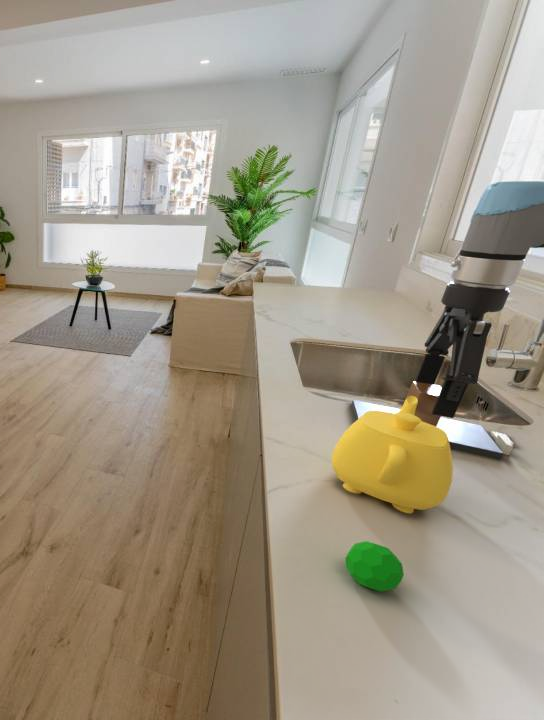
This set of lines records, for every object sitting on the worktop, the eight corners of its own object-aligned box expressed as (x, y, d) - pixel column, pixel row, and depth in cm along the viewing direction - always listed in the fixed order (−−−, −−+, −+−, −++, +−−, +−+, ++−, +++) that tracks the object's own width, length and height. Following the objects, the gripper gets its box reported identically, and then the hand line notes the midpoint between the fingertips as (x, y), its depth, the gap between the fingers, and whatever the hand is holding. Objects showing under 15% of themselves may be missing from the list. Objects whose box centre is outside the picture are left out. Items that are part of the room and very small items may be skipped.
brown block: (425, 418, 81) (440, 385, 78) (433, 432, 76) (449, 397, 74) (399, 413, 83) (412, 380, 80) (406, 426, 78) (420, 392, 75)
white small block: (493, 444, 76) (499, 445, 76) (501, 454, 73) (508, 456, 73) (498, 434, 75) (504, 435, 75) (507, 444, 72) (513, 446, 72)
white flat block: (491, 430, 79) (489, 434, 79) (499, 440, 76) (497, 444, 76) (505, 433, 78) (503, 437, 78) (514, 444, 75) (512, 447, 75)
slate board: (477, 432, 80) (480, 425, 79) (500, 461, 71) (504, 453, 70) (350, 405, 89) (352, 399, 88) (356, 428, 80) (359, 421, 79)
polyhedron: (333, 560, 50) (345, 529, 49) (378, 567, 50) (393, 536, 48) (353, 596, 46) (367, 563, 44) (404, 605, 45) (420, 572, 43)
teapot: (439, 476, 67) (472, 406, 62) (436, 547, 53) (478, 464, 48) (339, 443, 75) (361, 379, 70) (313, 498, 61) (339, 422, 56)
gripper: (430, 271, 81) (393, 373, 89) (474, 295, 61) (421, 424, 69) (483, 275, 78) (439, 380, 86) (547, 302, 58) (483, 436, 66)
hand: (431, 400), depth 77 cm, fingers open, 13 cm apart
